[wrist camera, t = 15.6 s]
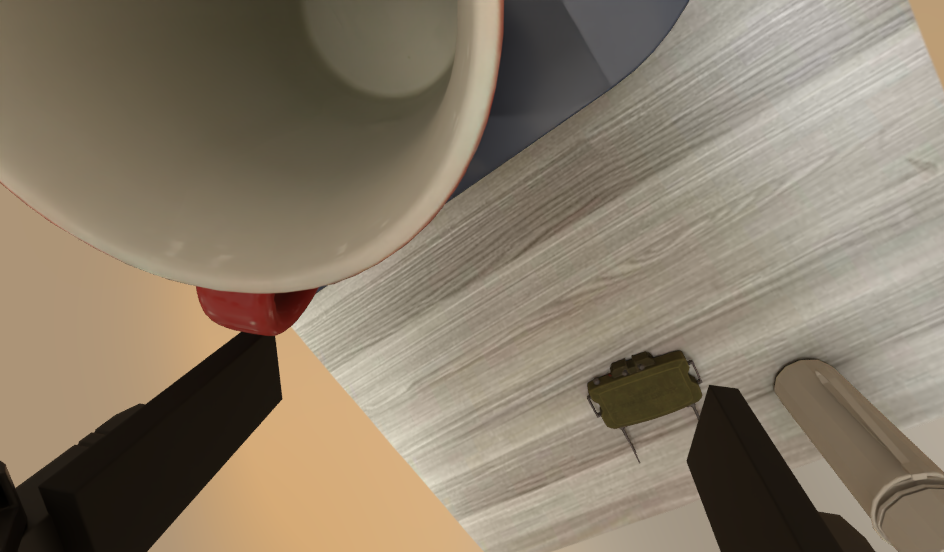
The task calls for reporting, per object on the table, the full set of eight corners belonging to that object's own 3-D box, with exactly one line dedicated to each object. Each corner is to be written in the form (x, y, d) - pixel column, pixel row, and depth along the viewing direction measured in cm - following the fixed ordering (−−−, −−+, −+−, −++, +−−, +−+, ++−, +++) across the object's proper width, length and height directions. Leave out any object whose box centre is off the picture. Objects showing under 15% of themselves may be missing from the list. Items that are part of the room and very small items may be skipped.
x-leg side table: (434, 189, 56) (289, 312, 24) (362, 88, 53) (90, 78, 21) (630, 49, 47) (797, -41, 16) (558, -81, 44) (588, -513, 13)
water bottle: (841, 397, 57) (1039, 599, 34) (773, 410, 60) (915, 608, 36) (832, 335, 55) (1039, 508, 32) (760, 351, 57) (906, 524, 34)
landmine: (687, 347, 55) (729, 440, 59) (681, 337, 58) (721, 427, 62) (578, 386, 59) (624, 471, 63) (577, 375, 62) (621, 456, 66)
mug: (284, -202, 15) (-495, -869, 3) (545, -95, 16) (639, -330, 4) (258, 161, 21) (-35, 356, 10) (444, 221, 22) (373, 464, 11)
